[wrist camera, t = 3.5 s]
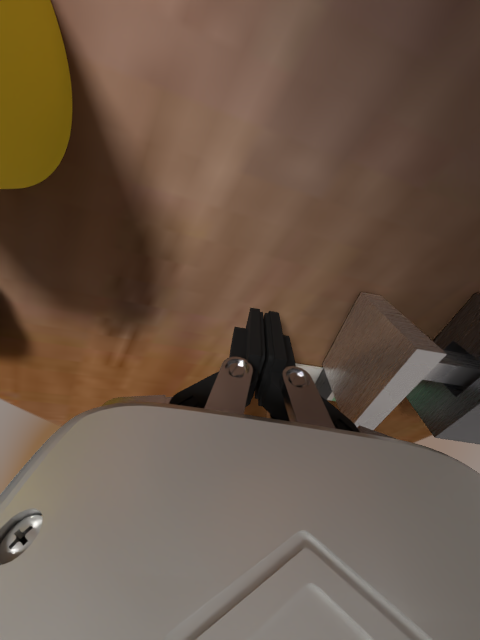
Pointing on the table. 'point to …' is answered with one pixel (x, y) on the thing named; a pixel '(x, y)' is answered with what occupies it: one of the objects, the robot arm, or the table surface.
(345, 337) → the grey t-shaped piece
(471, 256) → the table surface
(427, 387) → the block
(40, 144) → the tape roll
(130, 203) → the table surface
